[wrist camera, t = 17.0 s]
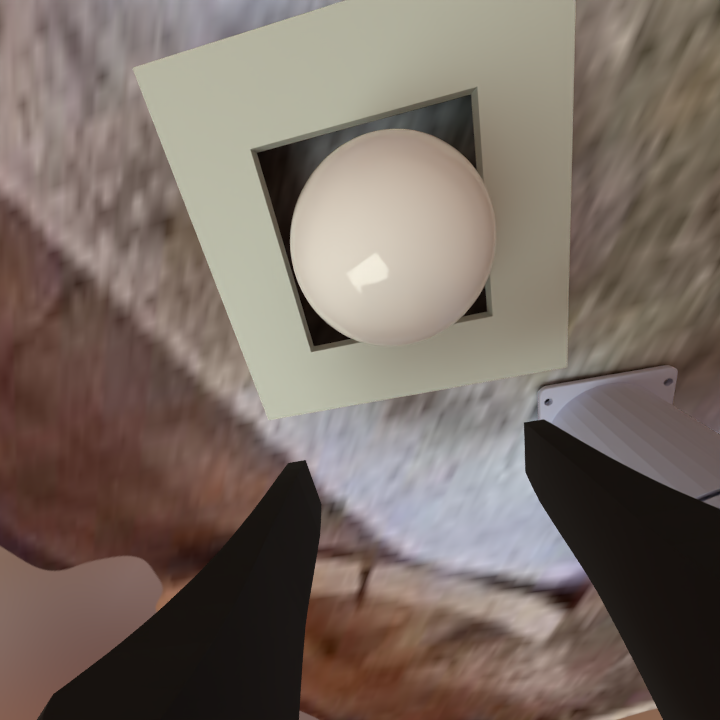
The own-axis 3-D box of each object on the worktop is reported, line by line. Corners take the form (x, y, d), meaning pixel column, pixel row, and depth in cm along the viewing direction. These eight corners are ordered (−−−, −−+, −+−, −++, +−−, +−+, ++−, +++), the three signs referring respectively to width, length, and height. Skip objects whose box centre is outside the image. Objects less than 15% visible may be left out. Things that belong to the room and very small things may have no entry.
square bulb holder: (526, 335, 20) (567, 367, 16) (288, 381, 22) (268, 420, 17) (517, 11, 14) (577, -73, 10) (194, 106, 16) (132, 67, 12)
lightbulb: (462, 252, 18) (578, 296, 8) (366, 314, 20) (361, 418, 10) (402, 138, 16) (455, 9, 6) (299, 218, 18) (206, 220, 8)
